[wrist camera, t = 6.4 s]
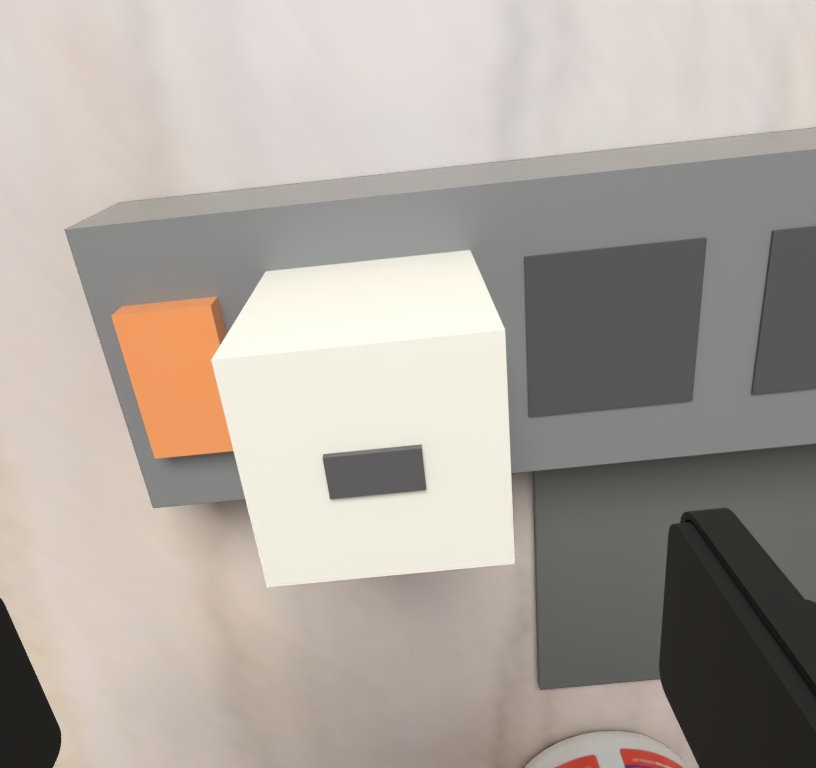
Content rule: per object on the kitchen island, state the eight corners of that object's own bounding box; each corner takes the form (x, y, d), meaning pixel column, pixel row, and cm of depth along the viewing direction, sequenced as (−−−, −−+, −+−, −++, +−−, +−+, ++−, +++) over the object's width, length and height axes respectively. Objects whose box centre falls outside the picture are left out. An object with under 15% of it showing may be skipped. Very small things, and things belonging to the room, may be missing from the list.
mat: (859, 418, 23) (867, 424, 22) (809, 657, 27) (814, 665, 27) (532, 450, 23) (534, 456, 22) (537, 681, 27) (539, 689, 27)
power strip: (1445, 59, 18) (1724, 57, 14) (1307, 334, 22) (1502, 391, 18) (118, 202, 19) (50, 236, 15) (186, 446, 22) (145, 523, 19)
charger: (469, 250, 16) (506, 332, 11) (481, 430, 18) (515, 568, 13) (265, 271, 16) (209, 363, 11) (300, 447, 19) (265, 592, 13)
